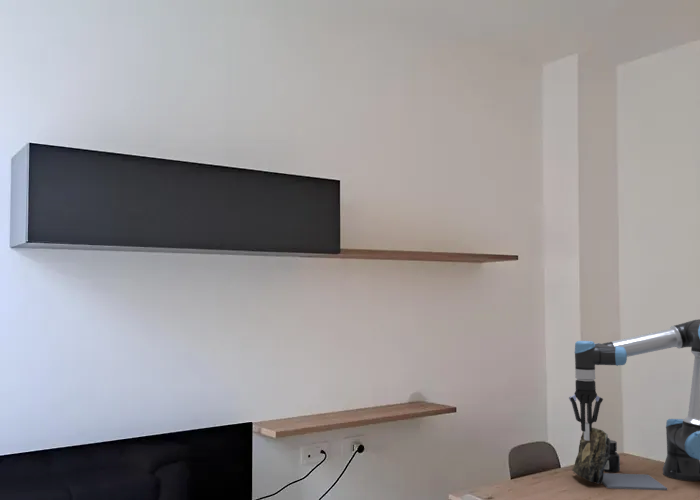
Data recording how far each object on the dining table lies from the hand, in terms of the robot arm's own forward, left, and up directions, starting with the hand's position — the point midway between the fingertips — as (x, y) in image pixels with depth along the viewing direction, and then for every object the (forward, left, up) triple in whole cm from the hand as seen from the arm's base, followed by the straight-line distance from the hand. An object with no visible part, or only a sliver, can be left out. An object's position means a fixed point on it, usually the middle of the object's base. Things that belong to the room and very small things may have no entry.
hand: (586, 439), depth 253 cm
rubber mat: (-16, -1, -16) cm, 23 cm away
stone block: (+2, 0, -15) cm, 15 cm away
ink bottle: (-14, -19, -17) cm, 29 cm away
